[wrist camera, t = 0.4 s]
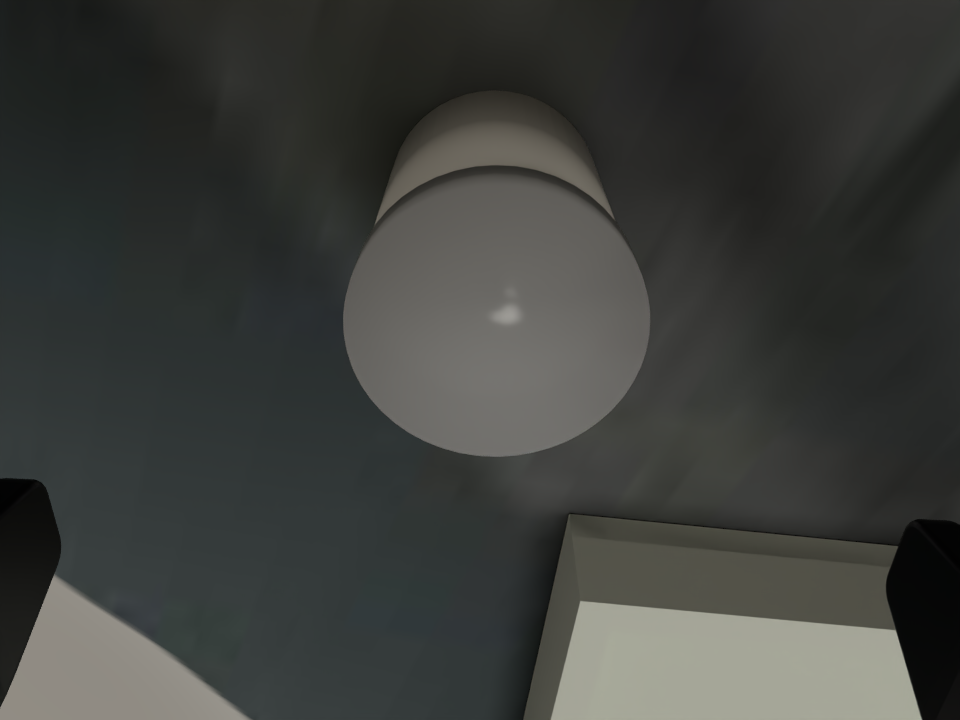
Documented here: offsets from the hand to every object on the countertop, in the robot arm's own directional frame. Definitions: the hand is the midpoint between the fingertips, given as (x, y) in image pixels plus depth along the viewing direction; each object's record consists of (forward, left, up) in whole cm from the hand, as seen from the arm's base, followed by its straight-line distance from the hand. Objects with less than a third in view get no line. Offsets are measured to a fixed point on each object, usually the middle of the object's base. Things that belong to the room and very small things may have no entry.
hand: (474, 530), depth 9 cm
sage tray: (-11, +18, -13) cm, 25 cm away
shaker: (0, +1, -13) cm, 13 cm away
